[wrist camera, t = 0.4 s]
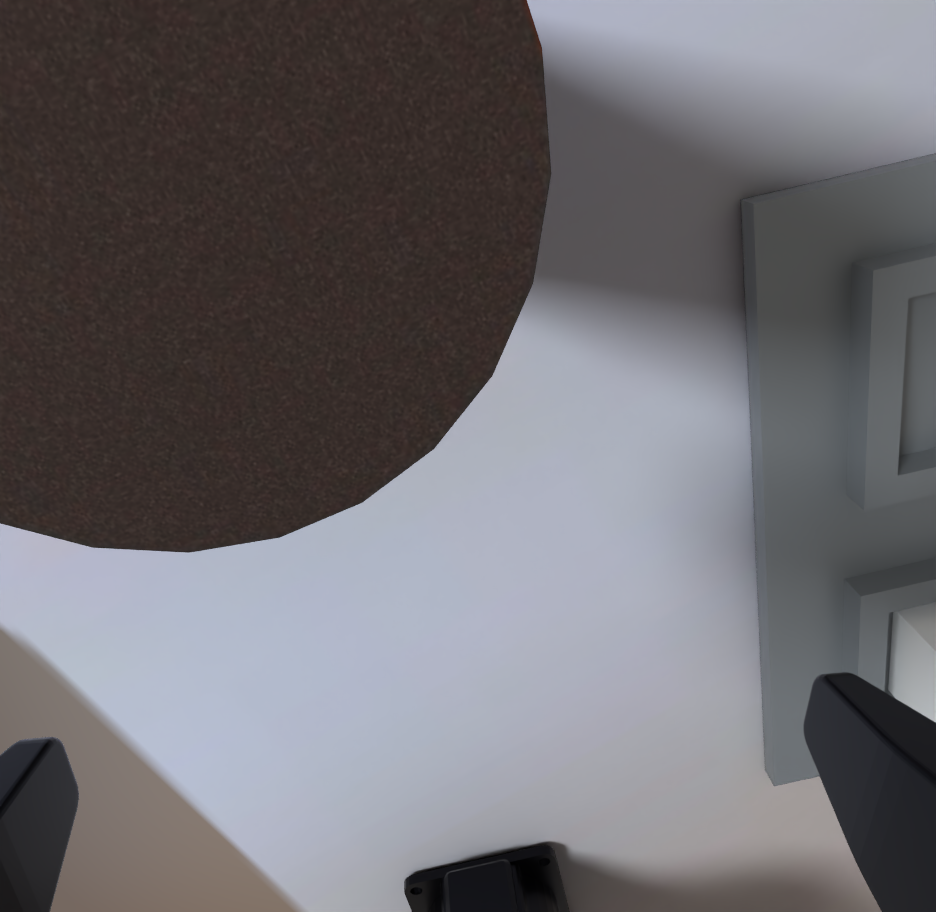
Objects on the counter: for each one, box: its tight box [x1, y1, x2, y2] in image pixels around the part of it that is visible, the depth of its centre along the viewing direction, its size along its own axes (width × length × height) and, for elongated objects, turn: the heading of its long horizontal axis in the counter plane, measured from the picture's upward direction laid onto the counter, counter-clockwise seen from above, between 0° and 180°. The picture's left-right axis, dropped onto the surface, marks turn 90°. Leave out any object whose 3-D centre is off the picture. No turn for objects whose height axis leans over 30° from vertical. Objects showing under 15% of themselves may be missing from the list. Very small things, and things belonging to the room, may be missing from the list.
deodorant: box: [0, 0, 551, 552], centre depth 12 cm, size 6×6×15 cm
